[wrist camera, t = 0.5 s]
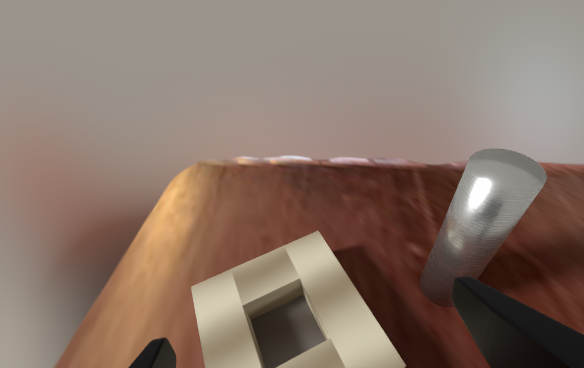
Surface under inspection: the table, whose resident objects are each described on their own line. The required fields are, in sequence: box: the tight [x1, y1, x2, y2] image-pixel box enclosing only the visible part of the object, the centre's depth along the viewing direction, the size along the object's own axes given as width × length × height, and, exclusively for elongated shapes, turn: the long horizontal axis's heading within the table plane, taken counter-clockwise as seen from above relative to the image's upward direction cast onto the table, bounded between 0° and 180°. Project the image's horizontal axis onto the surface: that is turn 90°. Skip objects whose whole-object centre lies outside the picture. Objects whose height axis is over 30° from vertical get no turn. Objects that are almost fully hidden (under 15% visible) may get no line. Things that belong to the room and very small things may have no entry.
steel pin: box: [420, 149, 547, 307], centre depth 20 cm, size 4×4×14 cm
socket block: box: [191, 231, 406, 368], centre depth 22 cm, size 12×12×4 cm
